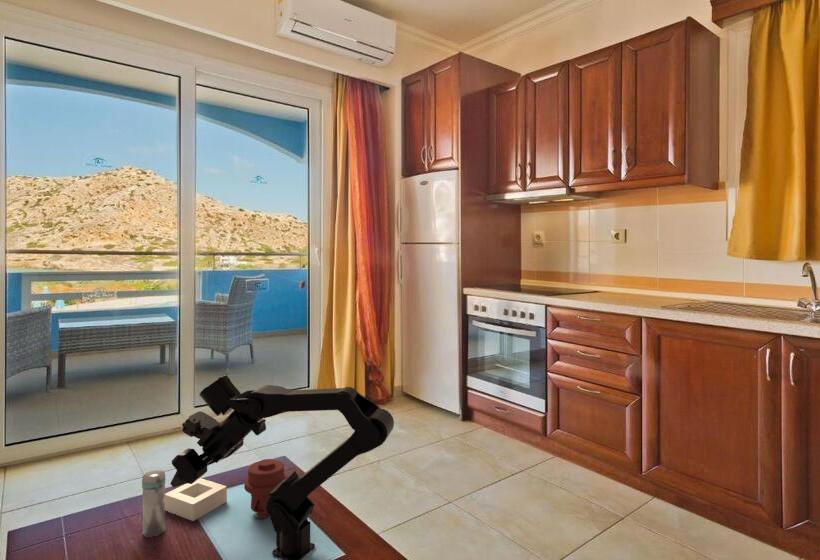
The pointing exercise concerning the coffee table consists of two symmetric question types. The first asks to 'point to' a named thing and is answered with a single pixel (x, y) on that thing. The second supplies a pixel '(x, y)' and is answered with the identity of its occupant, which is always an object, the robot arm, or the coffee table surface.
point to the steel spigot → (153, 503)
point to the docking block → (195, 499)
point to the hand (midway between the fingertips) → (186, 475)
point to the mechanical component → (263, 483)
